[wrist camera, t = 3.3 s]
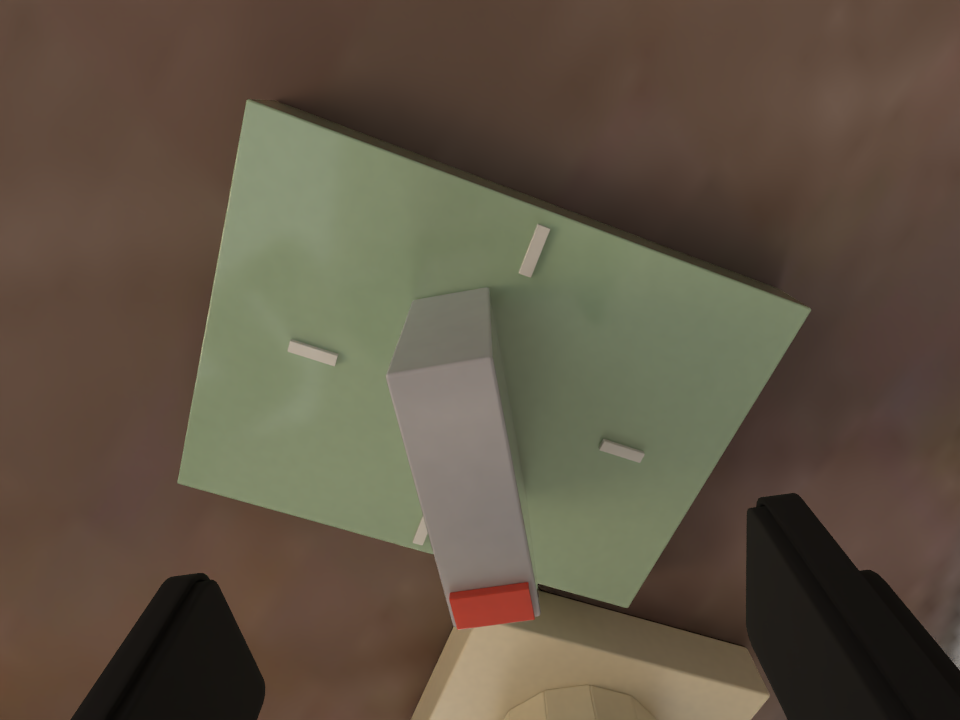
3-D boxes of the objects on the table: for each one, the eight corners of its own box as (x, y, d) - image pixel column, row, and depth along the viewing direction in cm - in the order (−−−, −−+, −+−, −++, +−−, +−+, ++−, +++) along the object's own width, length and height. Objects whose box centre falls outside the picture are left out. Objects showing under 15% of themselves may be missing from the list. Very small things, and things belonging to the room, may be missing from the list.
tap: (411, 299, 16) (382, 380, 11) (489, 285, 16) (493, 362, 11) (459, 502, 19) (452, 637, 14) (526, 492, 19) (542, 625, 14)
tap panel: (203, 450, 20) (173, 487, 18) (272, 99, 16) (243, 98, 14) (616, 568, 23) (628, 612, 21) (779, 288, 18) (815, 311, 16)
